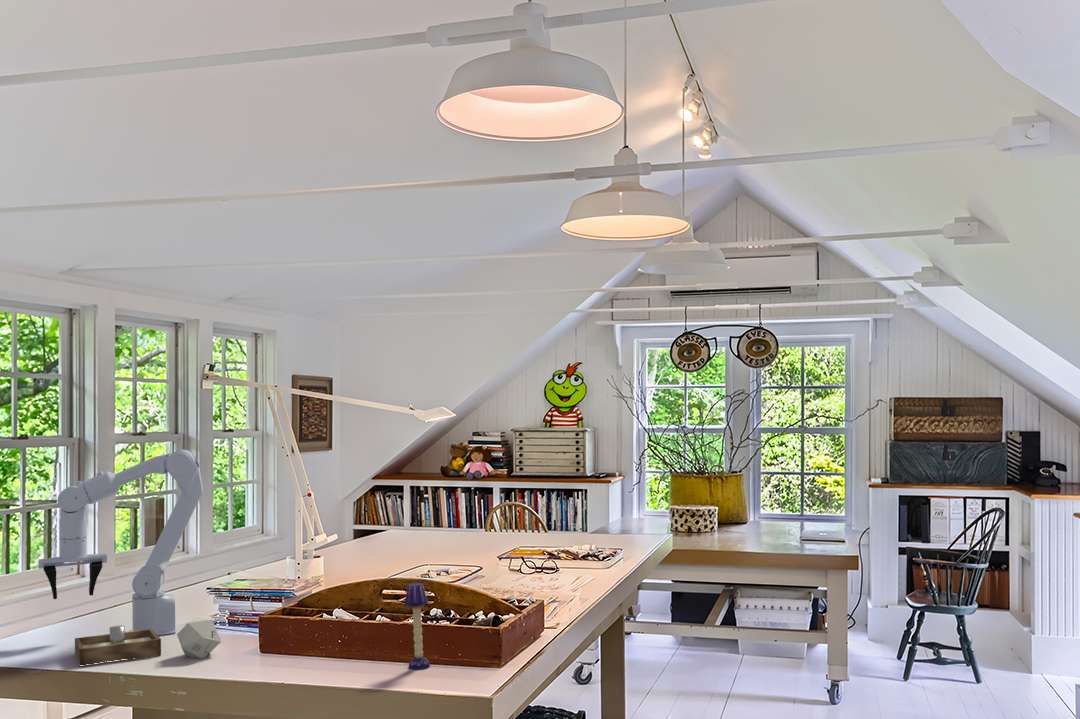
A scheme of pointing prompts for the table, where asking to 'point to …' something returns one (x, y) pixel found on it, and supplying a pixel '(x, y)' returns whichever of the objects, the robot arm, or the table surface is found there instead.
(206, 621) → the die
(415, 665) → the toy lamp
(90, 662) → the peg box
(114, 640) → the peg
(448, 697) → the table surface
